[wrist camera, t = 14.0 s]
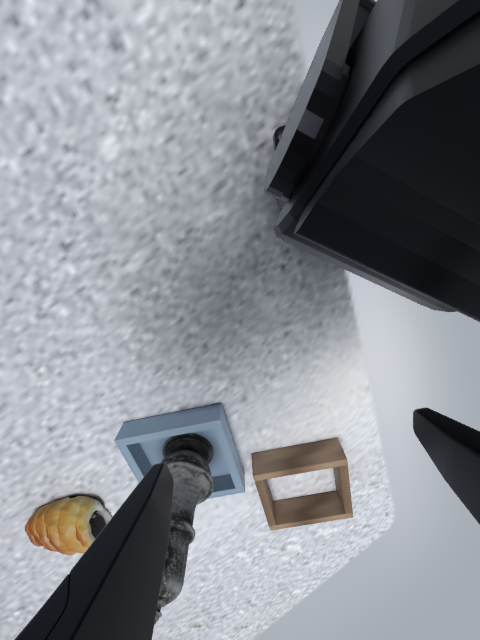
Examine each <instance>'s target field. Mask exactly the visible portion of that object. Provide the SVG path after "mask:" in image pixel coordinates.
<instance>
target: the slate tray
mask: <svg viewBox="0 0 480 640" xmlns="http://www.w3.org/2000/svg"><path fill="white" fill-rule="evenodd" d="M186 433H195V434H198V435H201V436H203V437H204V438H206V439H207V440H208V441H209V442H210V443H211V445H212V446H213V450H214V455H213V459H212V460H211V462H210V463H209V464H208V465H209V468H210V471H211V476H212V478H213V481H214V489H213V492H212V494H211V495H210V497H209V498H214V497H220V496H225V495H231V494H237V493H243V492H245V478H244V470H243V467H242V464H241V461H240V458H239V455H238V452H237V449H236V446H235V443H234V440H233V437H232V434H231V431H230V428H229V425H228V422H227V419H226V416H225V413H224V410H223V407H222V404H221V403H218V404H213V405H208V406H203V407H198V408H193V409H188V410H183V411H178V412H173V413H169V414H164V415H159V416H154V417H149V418H144V419H139V420H134V421H129V422H124V423H123V425H122V427H121V429H120V431H119V433H118V435H117V437H116V438H115V440H114V441H115V443H116V444H117V446H118V448H119V450H120V451H121V453H122V455H123V456H124V458H125V460H126V462H127V463H128V465H129V467H130V468H131V470H132V472H133V474H134V475H135V477H136V479H137V480H138V482H139V483H140V481H141V480H142V479H143V478H144V476H145V475H146V474H147V472H148V471H149V470H150V469H151V467H152V466H153V465H154V464H157V463H161V461H162V460H163V459H164V457H163V453H162V450H163V445H164V443H165V441H166V440H168V439H169V438H170V437H172V436H176V435H181V434H186ZM207 499H208V498H207Z"/></svg>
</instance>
